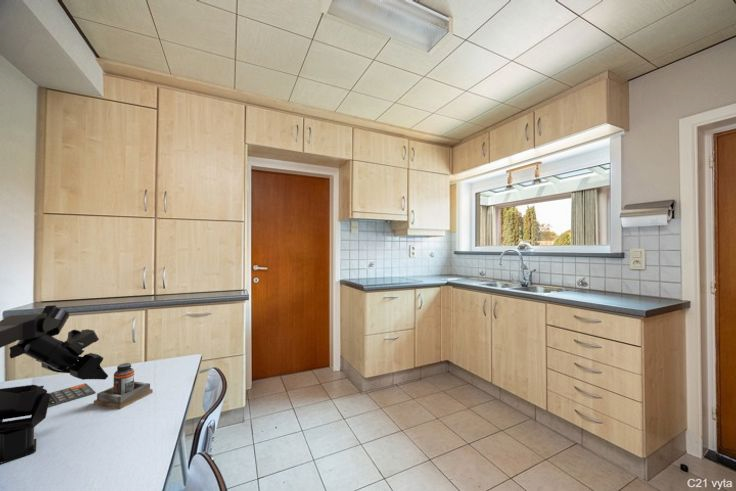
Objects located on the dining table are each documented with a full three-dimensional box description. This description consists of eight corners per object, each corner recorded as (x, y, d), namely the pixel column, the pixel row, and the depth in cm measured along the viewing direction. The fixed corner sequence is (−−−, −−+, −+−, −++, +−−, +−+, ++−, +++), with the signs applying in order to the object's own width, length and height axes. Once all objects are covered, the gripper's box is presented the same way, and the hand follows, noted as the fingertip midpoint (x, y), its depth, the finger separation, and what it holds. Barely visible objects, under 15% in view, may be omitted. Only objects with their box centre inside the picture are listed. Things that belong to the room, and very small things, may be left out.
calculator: (96, 391, 99) (27, 411, 86) (95, 394, 99) (27, 415, 86) (85, 382, 105) (21, 400, 93) (85, 385, 105) (21, 403, 93)
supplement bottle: (110, 396, 94) (110, 365, 94) (129, 389, 99) (129, 360, 99) (117, 400, 92) (118, 368, 92) (137, 393, 96) (137, 363, 96)
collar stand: (152, 392, 99) (152, 383, 99) (120, 408, 89) (120, 398, 89) (128, 389, 102) (128, 379, 102) (93, 404, 91) (94, 394, 92)
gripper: (95, 326, 80) (138, 353, 90) (57, 319, 87) (101, 346, 97) (55, 365, 73) (107, 391, 83) (17, 355, 80) (69, 380, 90)
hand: (97, 375), depth 88 cm, fingers open, 9 cm apart
